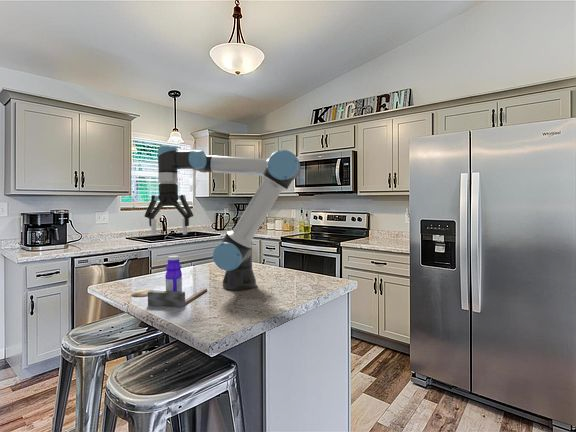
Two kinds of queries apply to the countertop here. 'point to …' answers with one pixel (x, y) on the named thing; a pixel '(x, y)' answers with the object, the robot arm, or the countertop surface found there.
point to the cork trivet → (140, 293)
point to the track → (170, 298)
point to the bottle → (173, 274)
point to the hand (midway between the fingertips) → (169, 234)
